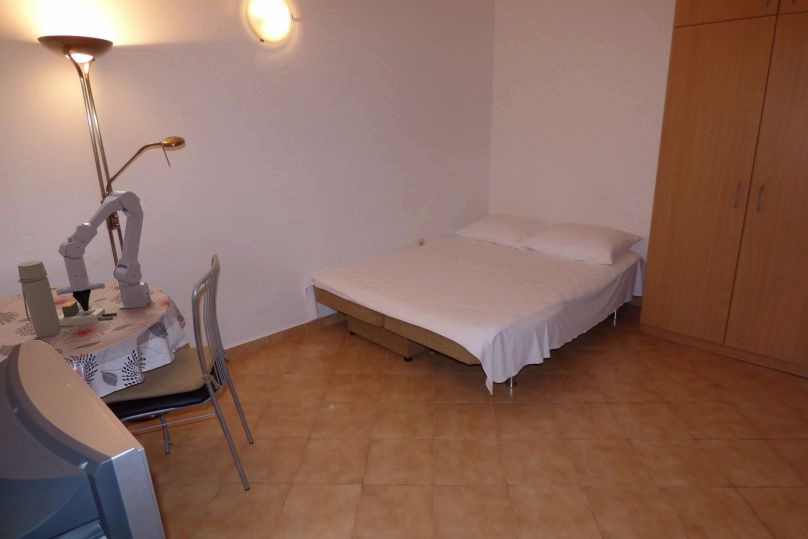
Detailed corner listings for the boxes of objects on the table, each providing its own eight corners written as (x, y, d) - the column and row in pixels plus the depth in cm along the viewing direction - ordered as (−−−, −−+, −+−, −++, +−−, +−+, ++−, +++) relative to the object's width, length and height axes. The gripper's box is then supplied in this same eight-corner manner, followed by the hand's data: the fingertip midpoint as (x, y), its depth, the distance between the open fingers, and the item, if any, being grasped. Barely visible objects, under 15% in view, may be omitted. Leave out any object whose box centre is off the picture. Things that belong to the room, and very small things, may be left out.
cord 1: (113, 318, 176) (112, 315, 176) (112, 319, 175) (111, 316, 175) (98, 319, 175) (97, 317, 175) (97, 320, 174) (96, 318, 174)
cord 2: (116, 315, 179) (116, 312, 179) (115, 316, 178) (115, 313, 178) (102, 316, 179) (101, 313, 178) (101, 317, 178) (100, 314, 177)
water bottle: (67, 328, 168) (49, 259, 161) (52, 338, 161) (33, 266, 153) (40, 329, 168) (21, 260, 161) (24, 339, 161) (3, 267, 153)
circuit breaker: (105, 314, 180) (104, 307, 179) (96, 323, 172) (94, 316, 172) (67, 317, 178) (65, 311, 177) (56, 326, 171) (54, 319, 170)
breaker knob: (79, 311, 177) (76, 301, 176) (73, 315, 173) (70, 305, 172) (70, 311, 176) (67, 301, 175) (64, 316, 172) (61, 306, 171)
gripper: (102, 268, 177) (110, 302, 181) (55, 274, 172) (64, 310, 176) (100, 273, 171) (108, 309, 175) (51, 280, 165) (61, 316, 170)
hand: (86, 310), depth 175 cm, fingers closed
